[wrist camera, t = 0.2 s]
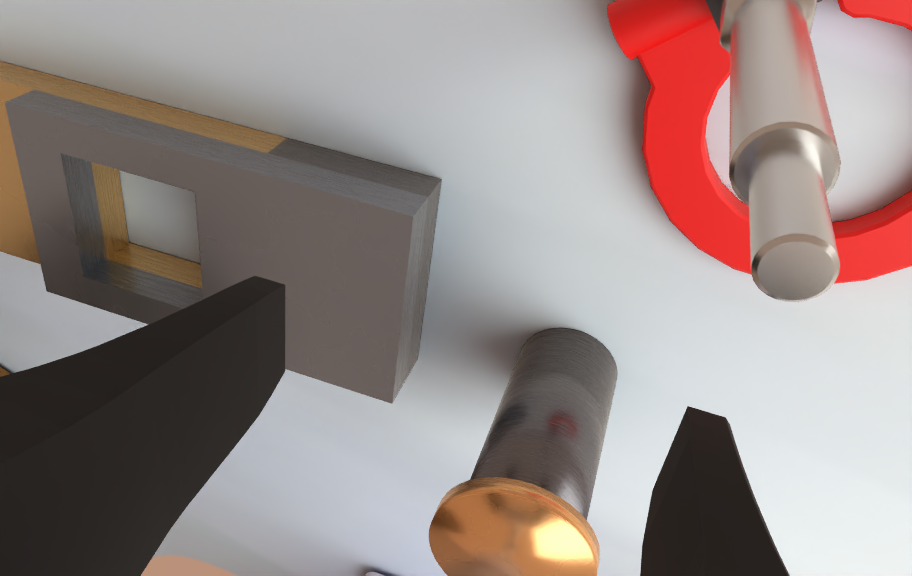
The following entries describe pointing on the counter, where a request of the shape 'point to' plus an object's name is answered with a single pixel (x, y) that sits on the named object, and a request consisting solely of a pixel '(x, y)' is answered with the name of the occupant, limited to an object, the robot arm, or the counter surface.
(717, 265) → the counter surface
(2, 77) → the slotted panel plate
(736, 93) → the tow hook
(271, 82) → the counter surface
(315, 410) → the counter surface
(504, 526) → the pin
